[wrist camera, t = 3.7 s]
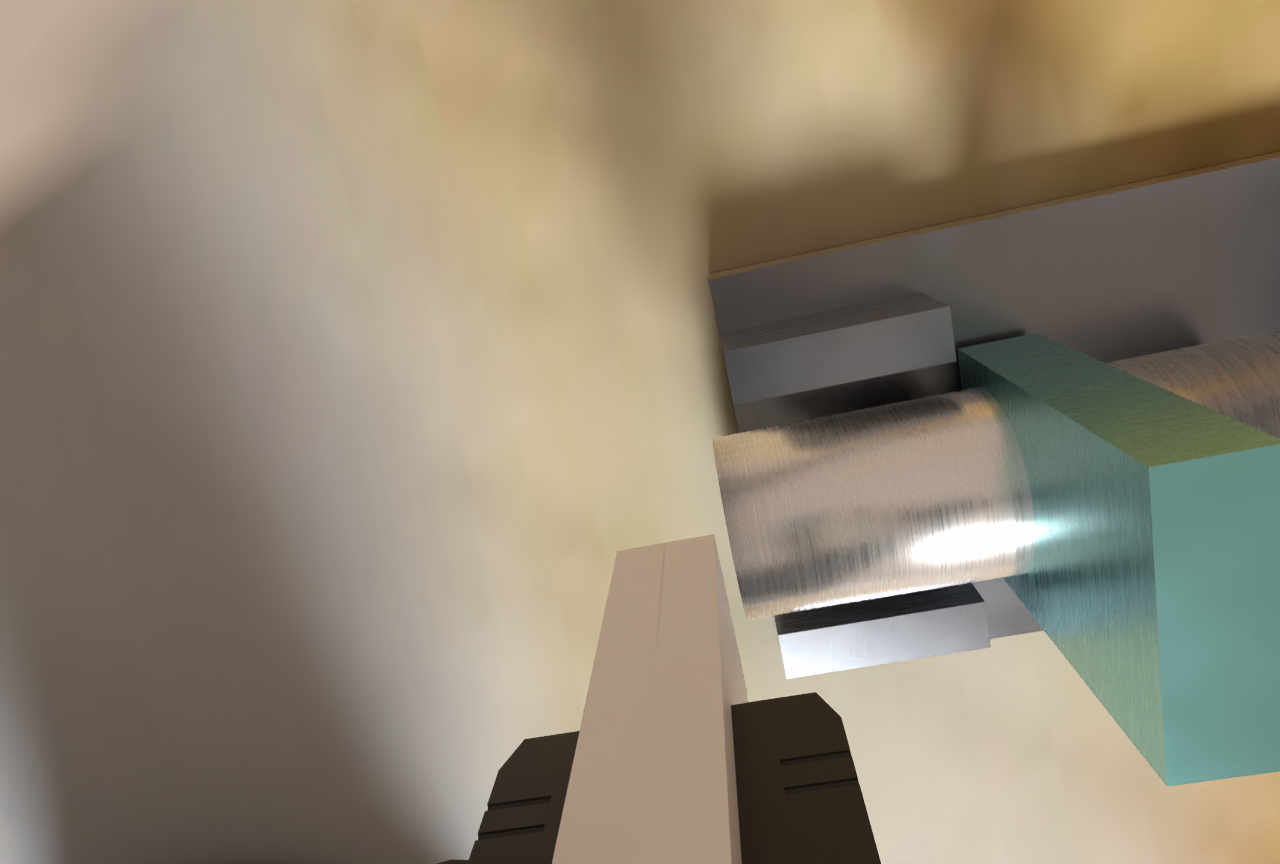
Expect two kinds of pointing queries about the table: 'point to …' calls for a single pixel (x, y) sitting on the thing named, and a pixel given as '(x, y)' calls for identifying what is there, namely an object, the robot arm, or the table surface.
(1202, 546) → the tube
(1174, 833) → the table surface
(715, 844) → the robot arm
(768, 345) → the cradle
